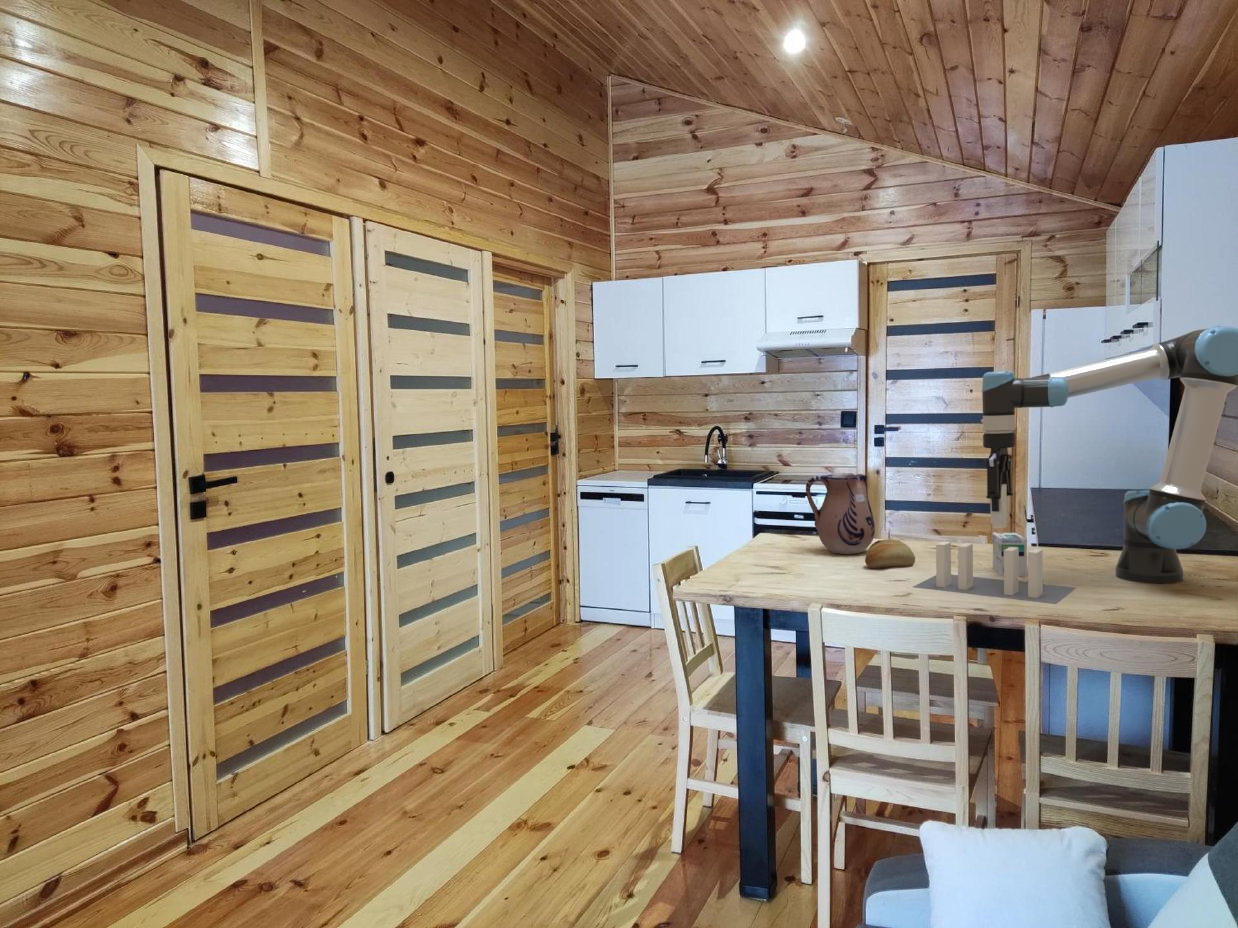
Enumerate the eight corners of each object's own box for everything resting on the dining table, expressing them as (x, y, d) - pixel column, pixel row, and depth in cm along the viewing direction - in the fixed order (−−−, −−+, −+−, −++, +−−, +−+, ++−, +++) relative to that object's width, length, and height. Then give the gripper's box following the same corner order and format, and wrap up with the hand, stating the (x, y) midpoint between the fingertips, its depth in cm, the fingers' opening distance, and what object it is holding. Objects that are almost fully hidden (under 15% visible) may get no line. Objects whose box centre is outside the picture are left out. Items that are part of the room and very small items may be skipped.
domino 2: (972, 586, 218) (972, 543, 217) (966, 590, 214) (966, 546, 213) (964, 585, 219) (964, 543, 218) (958, 589, 215) (957, 546, 215)
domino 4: (1018, 591, 211) (1018, 547, 210) (1012, 595, 207) (1012, 550, 206) (1010, 590, 212) (1010, 546, 211) (1003, 594, 208) (1003, 550, 207)
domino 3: (1007, 526, 220) (1006, 483, 219) (1001, 528, 216) (1000, 485, 215) (998, 525, 221) (998, 483, 221) (992, 528, 218) (992, 485, 217)
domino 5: (1042, 594, 207) (1042, 549, 206) (1037, 598, 203) (1037, 552, 203) (1033, 593, 209) (1033, 548, 208) (1028, 597, 205) (1028, 552, 204)
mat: (1076, 589, 213) (1076, 587, 213) (1056, 605, 198) (1056, 603, 198) (939, 574, 235) (939, 573, 235) (912, 588, 220) (912, 586, 220)
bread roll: (858, 565, 252) (857, 539, 251) (904, 562, 254) (904, 536, 253) (873, 572, 242) (872, 544, 241) (921, 568, 245) (921, 541, 244)
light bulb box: (1027, 578, 228) (1027, 538, 227) (1000, 577, 229) (1000, 538, 228) (1017, 570, 238) (1017, 531, 237) (991, 569, 239) (991, 532, 239)
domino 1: (951, 583, 221) (950, 542, 221) (944, 587, 218) (944, 545, 217) (943, 582, 223) (943, 541, 222) (936, 586, 219) (936, 544, 218)
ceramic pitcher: (882, 556, 264) (881, 476, 262) (813, 558, 264) (812, 478, 263) (866, 546, 282) (865, 471, 280) (802, 548, 282) (801, 473, 280)
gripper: (994, 430, 226) (995, 517, 228) (972, 434, 213) (973, 526, 214) (1024, 430, 221) (1025, 518, 223) (1003, 434, 208) (1004, 528, 209)
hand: (1000, 522), depth 219 cm, fingers closed on domino 3, 5 cm apart
